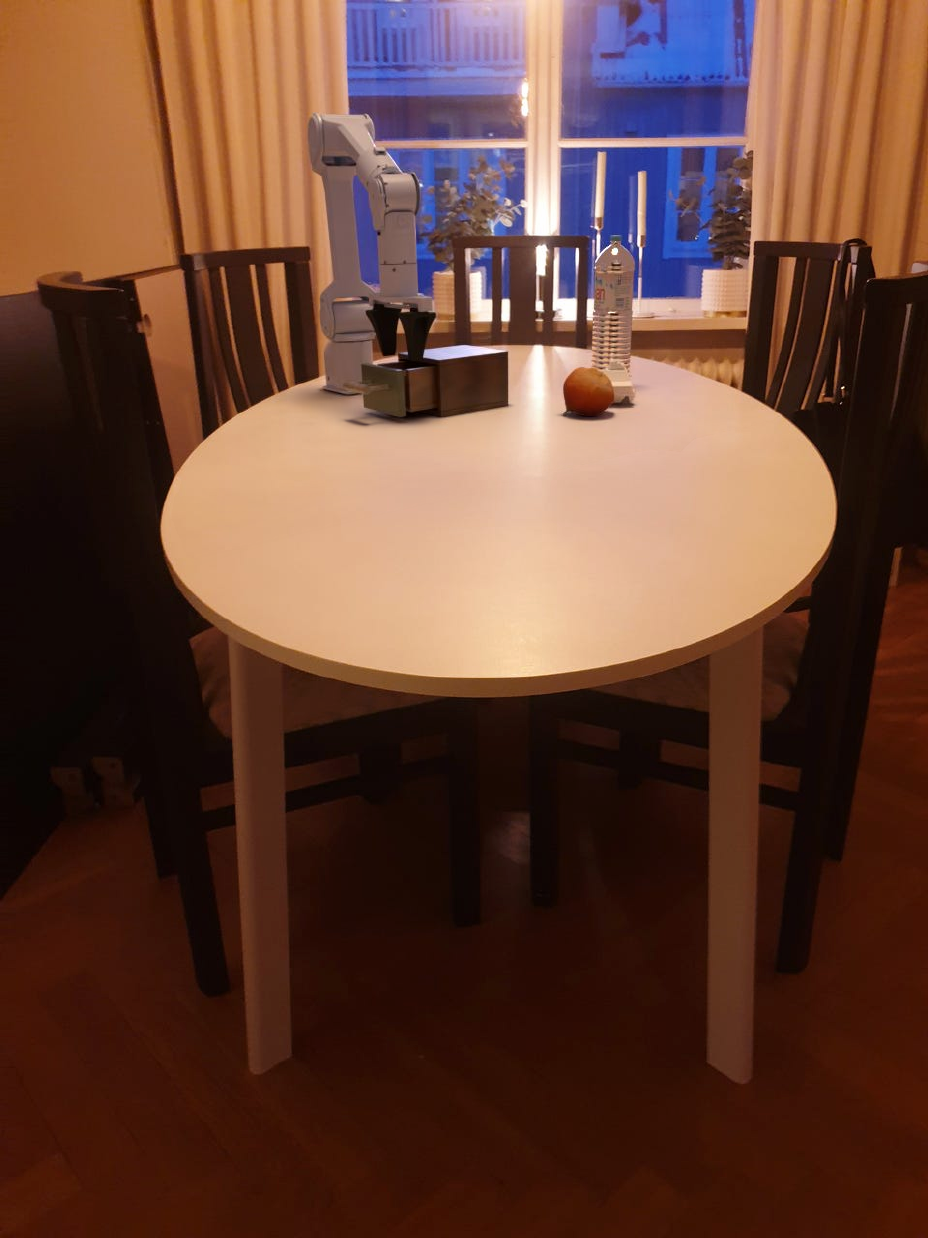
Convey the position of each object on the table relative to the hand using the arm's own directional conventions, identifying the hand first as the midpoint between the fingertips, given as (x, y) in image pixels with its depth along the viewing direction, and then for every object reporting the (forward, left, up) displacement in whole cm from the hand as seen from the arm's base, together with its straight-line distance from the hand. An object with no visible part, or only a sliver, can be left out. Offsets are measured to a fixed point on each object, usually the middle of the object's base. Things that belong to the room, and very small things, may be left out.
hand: (402, 357), depth 139 cm
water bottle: (+5, +41, -9) cm, 42 cm away
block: (0, 0, -7) cm, 7 cm away
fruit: (+20, +21, -9) cm, 30 cm away
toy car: (+15, +32, -9) cm, 36 cm away
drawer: (0, 0, -8) cm, 8 cm away
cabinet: (0, +10, -9) cm, 13 cm away
